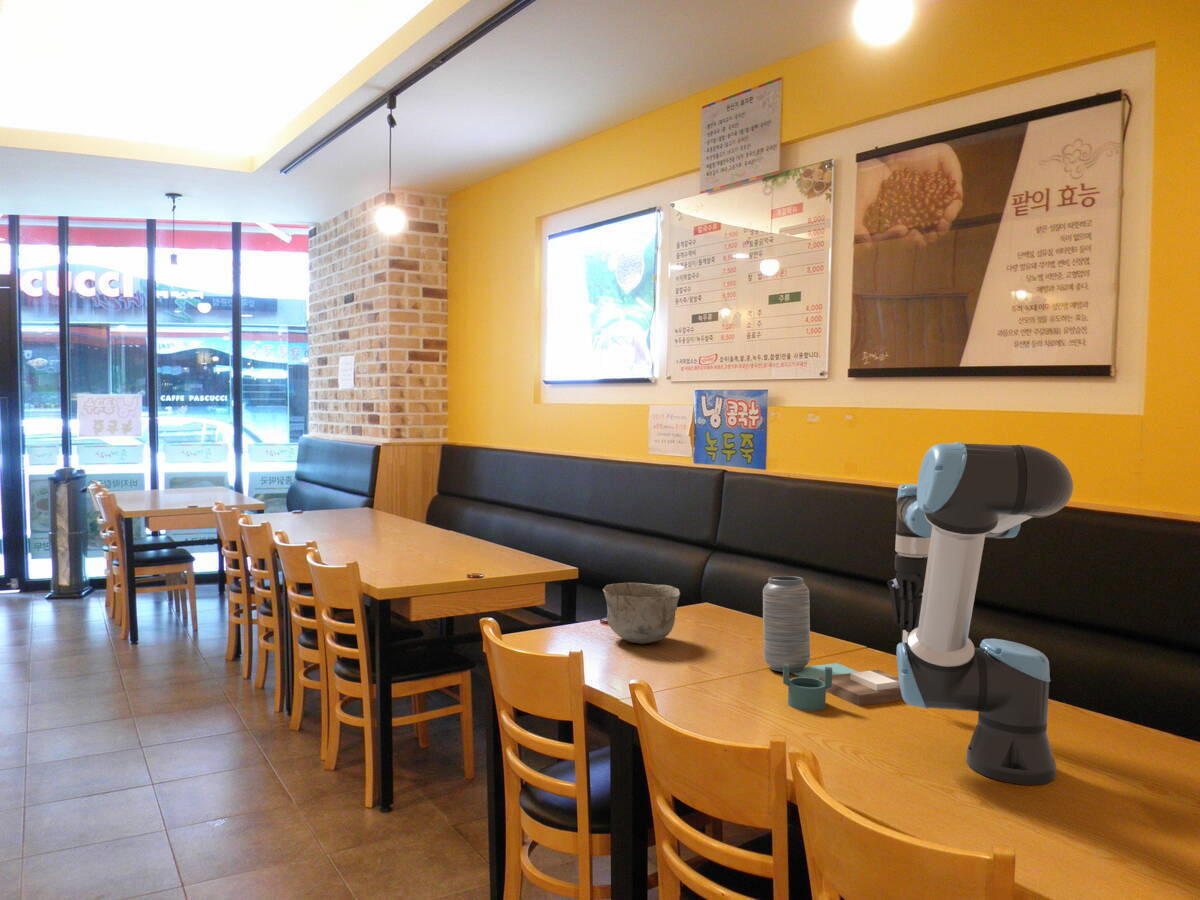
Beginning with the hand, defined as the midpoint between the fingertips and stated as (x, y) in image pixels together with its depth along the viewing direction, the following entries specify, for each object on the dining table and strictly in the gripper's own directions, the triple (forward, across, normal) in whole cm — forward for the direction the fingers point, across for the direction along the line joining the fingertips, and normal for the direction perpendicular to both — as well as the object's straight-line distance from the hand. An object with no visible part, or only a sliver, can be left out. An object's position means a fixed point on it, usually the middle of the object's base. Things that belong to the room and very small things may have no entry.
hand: (908, 658), depth 196 cm
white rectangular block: (+9, +11, 0) cm, 14 cm away
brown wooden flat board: (+11, +12, 0) cm, 17 cm away
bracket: (+11, +10, +20) cm, 25 cm away
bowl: (+12, +71, +30) cm, 78 cm away
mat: (+12, +26, 0) cm, 28 cm away
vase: (+11, +34, +8) cm, 37 cm away
